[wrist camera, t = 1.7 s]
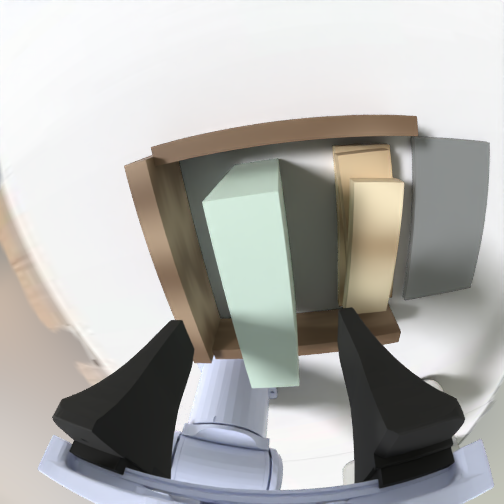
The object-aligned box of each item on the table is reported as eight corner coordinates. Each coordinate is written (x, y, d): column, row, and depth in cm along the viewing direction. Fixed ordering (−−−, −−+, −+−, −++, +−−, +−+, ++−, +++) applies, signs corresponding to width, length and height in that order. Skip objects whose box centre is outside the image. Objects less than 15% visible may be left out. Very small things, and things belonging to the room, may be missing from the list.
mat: (467, 284, 21) (470, 287, 21) (402, 296, 22) (404, 300, 22) (485, 141, 15) (489, 142, 14) (411, 136, 16) (414, 137, 16)
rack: (385, 312, 23) (401, 350, 19) (208, 328, 26) (196, 367, 21) (391, 114, 16) (424, 116, 11) (156, 145, 18) (121, 156, 14)
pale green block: (295, 300, 24) (299, 385, 16) (261, 303, 24) (251, 388, 16) (278, 158, 18) (278, 191, 10) (235, 164, 19) (202, 202, 11)
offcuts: (381, 292, 23) (394, 318, 20) (335, 298, 23) (342, 325, 20) (387, 143, 17) (408, 149, 14) (329, 145, 18) (341, 151, 14)
